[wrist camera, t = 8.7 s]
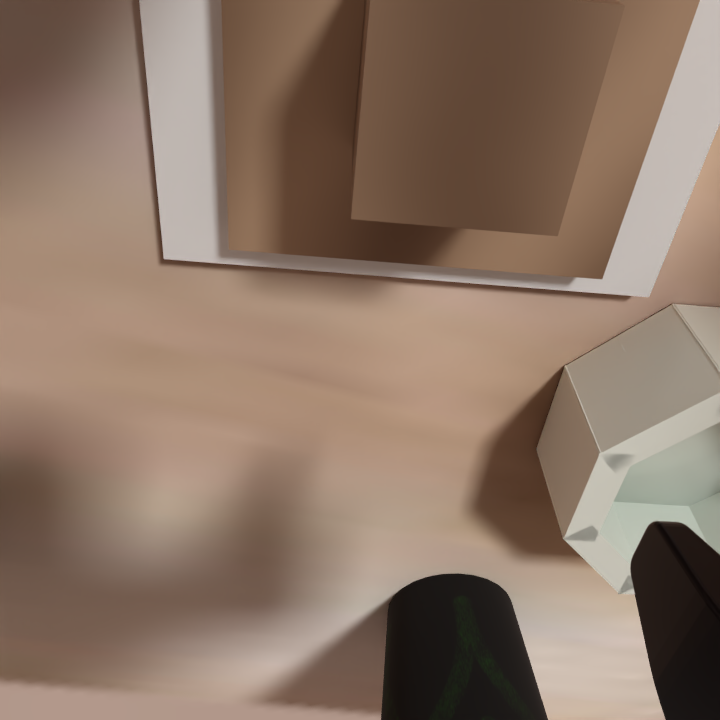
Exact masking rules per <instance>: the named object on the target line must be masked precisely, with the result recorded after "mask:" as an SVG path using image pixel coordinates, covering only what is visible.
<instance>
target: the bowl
mask: <svg viewBox="0 0 720 720" xmlns="http://www.w3.org/2000/svg"><path fill="white" fill-rule="evenodd" d="M536 450H537V454H538V457H539V460H540V464H541V467H542V470H543V474H544V477H545V480H546V484H547V487H548V490H549V494H550V497H551V500H552V504H553V507H554V511H555V514H556V517H557V521H558V524H559V527H560V531H561V534H562V537H563V540H565V541H566V542H567V543H568V544H569V545H570V546H571V547H572V548H573V549H574V550H575V551H576V552H577V553H578V554H579V555H580V556H581V557H582V558H583V559H584V560H585V561H586V562H587V563H588V564H589V565H590V566H592V567H593V568H594V569H595V570H596V571H597V572H598V573H599V574H600V575H601V576H602V577H603V578H604V579H605V580H606V581H607V582H608V583H609V584H610V585H611V586H612V587H613V588H614V589H615V590H616V591H617V592H618V594H635V593H634V588H633V583H632V579H631V572H630V565H631V559H632V556H633V554H634V552H635V550H636V548H637V546H638V544H639V542H640V540H641V538H642V536H643V534H644V532H645V530H646V528H647V527H648V525H649V524H650V523H652V522H653V521H671V522H680V523H683V524H685V525H686V526H688V527H689V528H690V529H691V530H693V531H694V532H695V533H696V534H697V535H698V536H699V537H701V538H702V539H703V540H704V541H705V542H706V543H707V544H708V545H710V546H711V547H712V548H713V549H714V550H715V551H716V552H717V553H719V554H720V307H708V306H695V305H682V304H674V303H673V304H671V305H670V306H668V307H667V308H665V309H663V310H661V311H660V312H658V313H656V314H654V315H653V316H651V317H649V318H647V319H646V320H644V321H642V322H641V323H639V324H637V325H635V326H634V327H632V328H630V329H628V330H627V331H625V332H623V333H621V334H620V335H618V336H616V337H615V338H613V339H611V340H609V341H608V342H606V343H604V344H602V345H601V346H599V347H597V348H595V349H594V350H592V351H590V352H588V353H587V354H585V355H583V356H582V357H580V358H578V359H576V360H575V361H573V362H571V363H569V364H568V365H565V366H564V370H563V372H562V375H561V378H560V381H559V384H558V387H557V390H556V393H555V396H554V399H553V402H552V405H551V408H550V410H549V413H548V416H547V419H546V422H545V425H544V428H543V431H542V434H541V437H540V440H539V443H538V446H537V448H536Z"/></svg>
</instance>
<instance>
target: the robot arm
mask: <svg viewBox="0 0 720 720" xmlns="http://www.w3.org/2000/svg"><path fill="white" fill-rule="evenodd" d="M630 572H631V579H632V583H633V588H634V593H635V597H636V602H637V607H638V611H639V616H640V621H641V625H642V630H643V635H644V639H645V644H646V649H647V653H648V658H649V663H650V667H651V671H652V675H653V680H654V684H655V687H656V690H657V694H658V697H659V700H660V704H661V707H662V710H663V713H664V716H665V719H666V720H720V554H719V553H717V552H716V551H715V550H714V549H713V548H712V547H711V546H710V545H708V544H707V543H706V542H705V541H704V540H703V539H702V538H701V537H699V536H698V535H697V534H696V533H695V532H694V531H693V530H691V529H690V528H689V527H688V526H686V525H685V524H683V523H680V522H671V521H653V522H652V523H650V524H649V525H648V527H647V528H646V530H645V532H644V534H643V536H642V538H641V540H640V542H639V544H638V546H637V548H636V550H635V552H634V554H633V556H632V559H631V565H630Z"/></svg>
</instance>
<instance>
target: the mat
mask: <svg viewBox="0 0 720 720" xmlns="http://www.w3.org/2000/svg"><path fill="white" fill-rule="evenodd" d="M139 4H140V14H141V25H142V35H143V46H144V56H145V67H146V77H147V88H148V98H149V109H150V119H151V130H152V140H153V151H154V161H155V172H156V182H157V193H158V203H159V214H160V224H161V235H162V245H163V256H164V259H169V260H182V261H194V262H207V263H220V264H233V265H245V266H258V267H271V268H284V269H296V270H309V271H322V272H334V273H347V274H360V275H373V276H385V277H398V278H411V279H424V280H436V281H449V282H462V283H474V284H487V285H500V286H513V287H525V288H538V289H551V290H564V291H576V292H589V293H602V294H614V295H627V296H640V297H649V296H650V294H651V291H652V289H653V287H654V284H655V282H656V279H657V277H658V274H659V272H660V269H661V267H662V264H663V262H664V259H665V257H666V254H667V252H668V250H669V247H670V245H671V242H672V240H673V237H674V235H675V232H676V230H677V227H678V225H679V222H680V220H681V217H682V215H683V213H684V210H685V208H686V205H687V203H688V200H689V198H690V195H691V193H692V190H693V188H694V185H695V183H696V181H697V178H698V176H699V173H700V171H701V168H702V166H703V163H704V161H705V158H706V156H707V153H708V151H709V148H710V146H711V144H712V141H713V139H714V136H715V134H716V131H717V129H718V126H719V124H720V0H700V2H699V5H698V7H697V10H696V13H695V16H694V19H693V22H692V25H691V27H690V30H689V33H688V36H687V39H686V42H685V45H684V47H683V50H682V53H681V56H680V59H679V62H678V65H677V67H676V70H675V73H674V76H673V79H672V82H671V85H670V87H669V90H668V93H667V96H666V99H665V102H664V105H663V107H662V110H661V113H660V116H659V119H658V122H657V125H656V127H655V130H654V133H653V136H652V139H651V142H650V144H649V147H648V150H647V153H646V156H645V159H644V162H643V164H642V167H641V170H640V173H639V176H638V179H637V182H636V184H635V187H634V190H633V193H632V196H631V199H630V202H629V204H628V207H627V210H626V213H625V216H624V219H623V222H622V224H621V227H620V230H619V233H618V236H617V239H616V242H615V244H614V247H613V250H612V253H611V256H610V259H609V262H608V264H607V267H606V270H605V273H604V276H603V279H590V278H578V277H565V276H553V275H540V274H528V273H515V272H503V271H490V270H477V269H465V268H452V267H440V266H427V265H415V264H402V263H390V262H377V261H364V260H352V259H339V258H327V257H314V256H302V255H289V254H277V253H264V252H251V251H239V250H229V243H228V210H227V176H226V143H225V110H224V77H223V43H222V10H221V0H139Z"/></svg>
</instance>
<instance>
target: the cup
mask: <svg viewBox="0 0 720 720" xmlns="http://www.w3.org/2000/svg"><path fill="white" fill-rule="evenodd" d="M381 720H548V718H547V715H546V712H545V709H544V705H543V702H542V699H541V696H540V692H539V689H538V686H537V683H536V680H535V676H534V673H533V670H532V667H531V663H530V660H529V657H528V654H527V651H526V647H525V644H524V641H523V638H522V634H521V631H520V628H519V625H518V621H517V618H516V615H515V612H514V609H513V605H512V602H511V600H510V598H509V596H508V594H507V592H506V591H504V590H503V589H502V588H501V587H500V586H499V585H497V584H495V583H493V582H492V581H490V580H488V579H484V578H481V577H477V576H474V575H465V574H442V575H437V576H432V577H427V578H424V579H421V580H418V581H416V582H413V583H411V584H410V585H408V586H406V587H404V588H403V589H401V590H400V591H399V592H398V593H397V594H396V595H395V596H394V597H393V599H392V601H391V603H390V604H389V609H388V618H387V634H386V650H385V666H384V682H383V698H382V714H381Z"/></svg>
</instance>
